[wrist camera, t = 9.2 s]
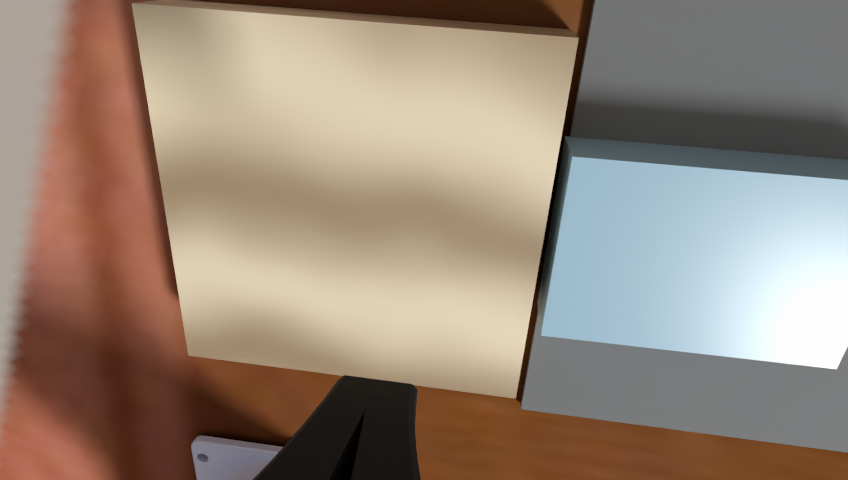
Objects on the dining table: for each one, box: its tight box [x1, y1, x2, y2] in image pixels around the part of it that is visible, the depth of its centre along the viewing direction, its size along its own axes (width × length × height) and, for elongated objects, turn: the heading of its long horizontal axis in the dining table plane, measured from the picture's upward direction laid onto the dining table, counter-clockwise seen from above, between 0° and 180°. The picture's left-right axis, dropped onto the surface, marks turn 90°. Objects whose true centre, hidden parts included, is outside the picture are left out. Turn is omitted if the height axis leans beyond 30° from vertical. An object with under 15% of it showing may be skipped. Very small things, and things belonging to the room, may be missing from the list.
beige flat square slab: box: [132, 0, 579, 398], centre depth 18 cm, size 12×12×2 cm
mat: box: [521, 0, 848, 452], centre depth 18 cm, size 18×14×1 cm
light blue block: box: [537, 136, 848, 369], centre depth 17 cm, size 9×6×2 cm, turn 87°
